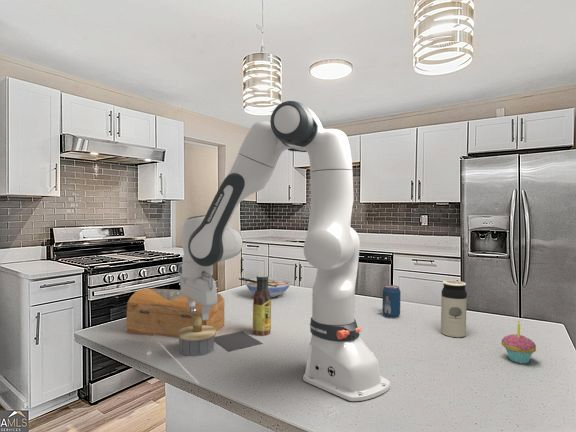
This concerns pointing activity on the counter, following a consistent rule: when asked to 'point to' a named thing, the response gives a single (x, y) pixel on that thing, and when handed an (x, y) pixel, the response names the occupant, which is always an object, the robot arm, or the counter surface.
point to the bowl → (196, 347)
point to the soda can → (391, 301)
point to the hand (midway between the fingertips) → (198, 315)
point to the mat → (236, 341)
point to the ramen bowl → (269, 285)
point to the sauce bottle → (262, 307)
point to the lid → (197, 331)
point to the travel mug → (453, 309)
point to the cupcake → (518, 346)
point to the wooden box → (167, 312)
